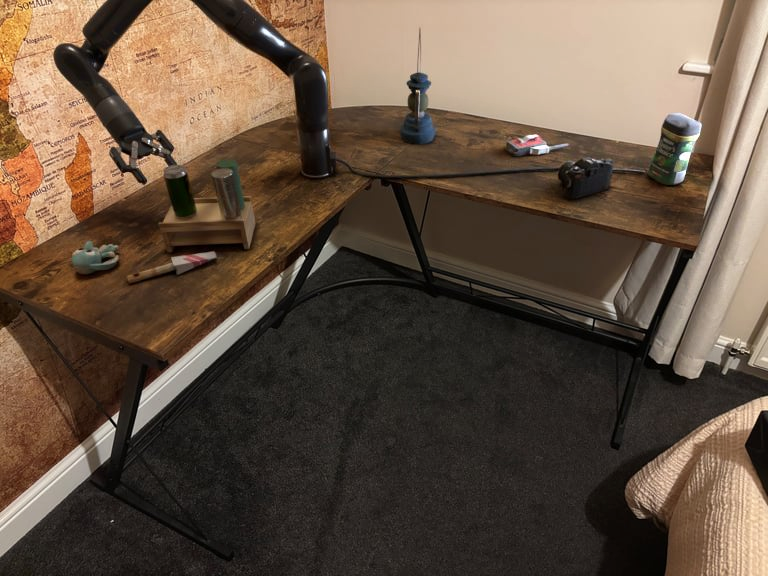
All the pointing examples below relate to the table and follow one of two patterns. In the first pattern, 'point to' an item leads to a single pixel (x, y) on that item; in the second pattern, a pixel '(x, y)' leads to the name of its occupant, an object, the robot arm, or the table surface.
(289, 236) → the table surface
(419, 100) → the lantern
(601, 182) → the film camera
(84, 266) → the stuffed animal
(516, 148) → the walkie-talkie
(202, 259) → the paintbrush
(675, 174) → the coffee jar
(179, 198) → the beer can
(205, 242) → the tray
